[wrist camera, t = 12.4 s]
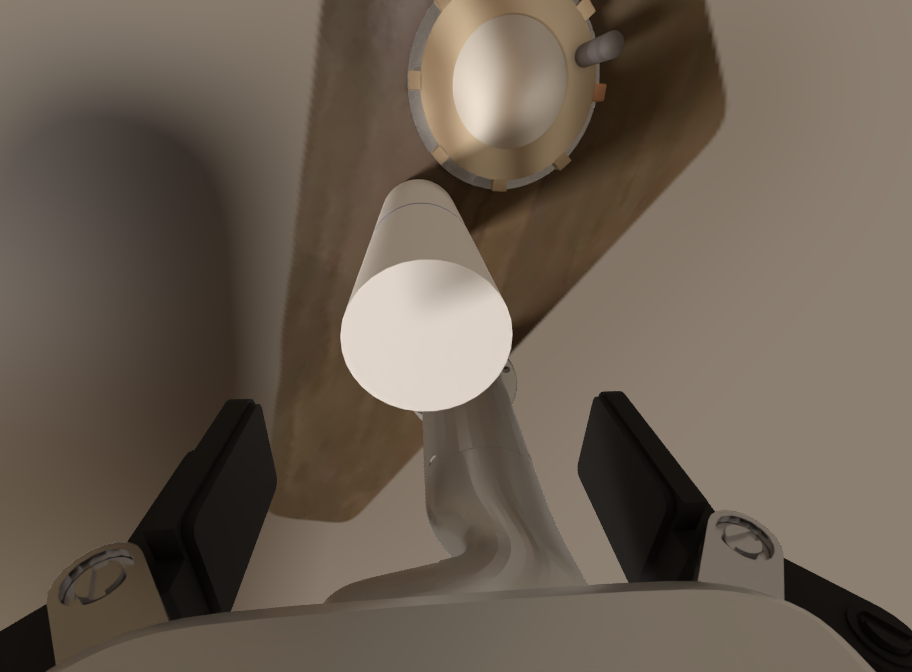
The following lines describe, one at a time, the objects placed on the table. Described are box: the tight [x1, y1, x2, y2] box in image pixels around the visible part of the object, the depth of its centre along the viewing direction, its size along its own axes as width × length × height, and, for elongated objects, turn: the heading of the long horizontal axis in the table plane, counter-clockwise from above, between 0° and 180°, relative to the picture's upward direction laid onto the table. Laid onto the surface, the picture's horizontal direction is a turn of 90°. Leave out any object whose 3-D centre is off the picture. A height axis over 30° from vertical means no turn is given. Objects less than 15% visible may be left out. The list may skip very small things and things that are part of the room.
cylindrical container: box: [340, 179, 513, 411], centre depth 28 cm, size 7×7×25 cm
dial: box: [408, 0, 624, 192], centre depth 31 cm, size 15×15×6 cm
